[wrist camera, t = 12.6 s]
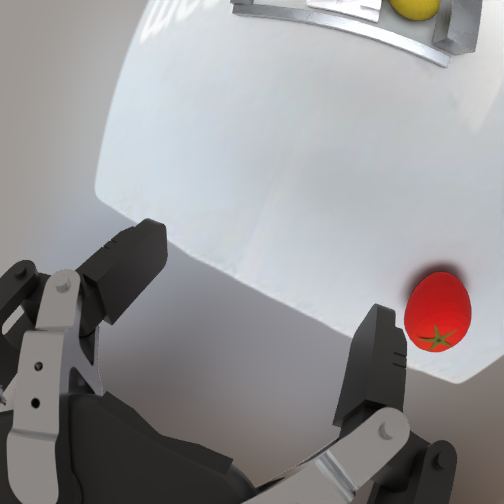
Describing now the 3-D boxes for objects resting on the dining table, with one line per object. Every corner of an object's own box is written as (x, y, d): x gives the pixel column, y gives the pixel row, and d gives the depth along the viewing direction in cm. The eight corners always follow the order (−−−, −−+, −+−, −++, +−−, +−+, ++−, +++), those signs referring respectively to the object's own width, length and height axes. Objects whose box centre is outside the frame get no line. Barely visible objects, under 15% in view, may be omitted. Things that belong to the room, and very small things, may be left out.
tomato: (473, 263, 33) (489, 316, 25) (454, 314, 38) (461, 366, 30) (410, 257, 37) (415, 311, 29) (399, 309, 42) (397, 362, 34)
